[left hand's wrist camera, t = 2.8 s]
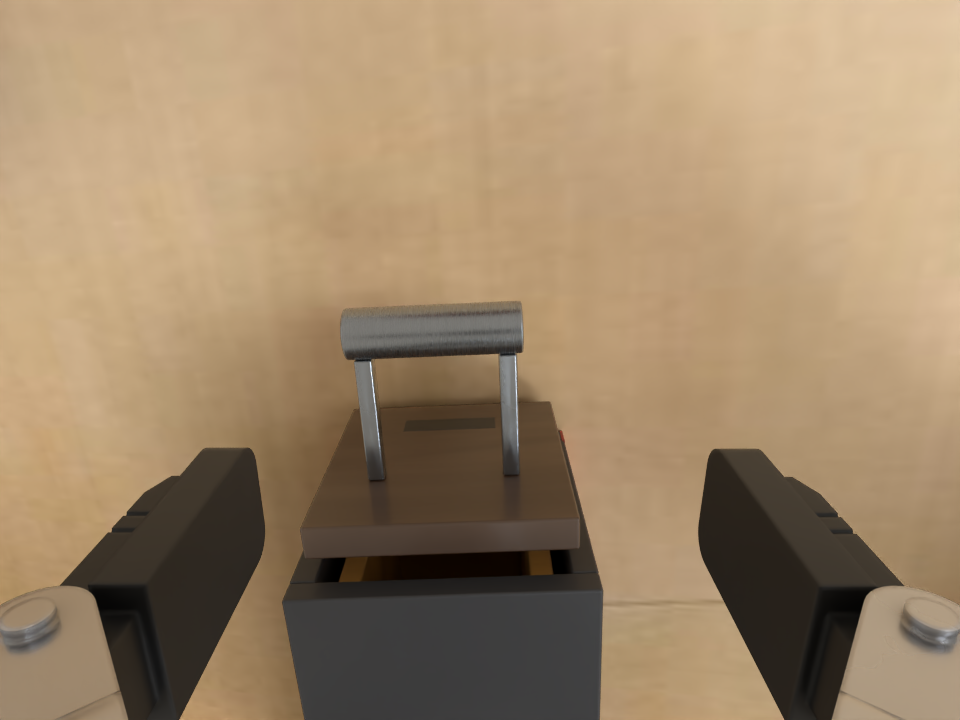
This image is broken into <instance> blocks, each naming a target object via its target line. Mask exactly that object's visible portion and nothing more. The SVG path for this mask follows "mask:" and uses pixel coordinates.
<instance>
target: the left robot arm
mask: <svg viewBox="0 0 960 720" xmlns="http://www.w3.org/2000/svg"><path fill="white" fill-rule="evenodd" d="M698 537H699V546H700V551H701V555H702V558H703V561H704V563H705V565H706V567H707V569H708V571H709V573H710V575H711V577H712V579H713V581H714V583H715V585H716V587H717V589H718V590H719V592H720V594H721V596H722V598H723V600H724V602H725V604H726V606H727V608H728V610H729V612H730V614H731V616H732V618H733V620H734V622H735V624H736V626H737V628H738V630H739V632H740V634H741V635H742V637H743V639H744V641H745V643H746V645H747V647H748V649H749V651H750V653H751V655H752V657H753V659H754V661H755V663H756V665H757V667H758V669H759V671H760V673H761V675H762V677H763V679H764V680H765V682H766V684H767V686H768V688H769V690H770V692H771V694H772V696H773V698H774V700H775V702H776V704H777V706H778V708H779V710H780V712H781V714H782V716H783V718H784V720H960V605H958V604H957V603H955V602H953V601H951V600H949V599H947V598H944V597H942V596H939V595H937V594H934V593H931V592H928V591H925V590H921V589H917V588H912V587H905V586H904V585H903V584H902V583H901V582H900V581H899V580H898V579H897V578H896V576H895V575H894V574H893V573H892V572H891V571H890V570H889V569H888V568H887V567H886V566H885V564H884V563H883V562H882V561H881V560H880V559H879V558H878V557H877V556H876V555H875V554H874V552H873V551H872V550H871V549H870V548H869V547H868V546H867V545H866V544H865V543H864V542H863V540H862V539H861V538H860V537H859V536H858V535H857V534H853V530H852V528H851V527H850V526H849V525H848V524H847V523H846V522H845V521H844V520H843V519H842V518H841V517H838V513H837V512H836V511H835V510H834V509H833V508H832V507H831V506H830V505H829V503H828V502H827V501H826V500H825V499H824V498H823V497H822V496H821V495H820V494H819V493H818V492H816V491H814V490H813V489H811V488H809V487H808V486H806V485H804V484H803V483H801V482H799V481H798V480H796V479H794V478H793V477H784V476H783V475H782V474H781V473H780V472H779V471H778V469H777V468H776V467H775V466H774V465H773V464H772V462H771V461H770V460H769V459H768V458H767V457H766V455H765V454H764V453H763V452H762V451H761V450H759V449H714V450H713V451H712V452H711V453H710V455H709V458H708V463H707V470H706V477H705V484H704V491H703V498H702V505H701V512H700V519H699V527H698ZM264 539H265V523H264V515H263V508H262V501H261V494H260V487H259V480H258V473H257V466H256V460H255V456H254V453H253V451H252V450H251V449H250V448H205V449H203V450H202V451H201V452H200V453H199V454H198V455H197V457H196V458H195V459H194V460H193V461H192V462H191V464H190V465H189V466H188V467H187V468H186V470H185V471H184V472H183V473H182V474H181V475H180V476H171V477H169V478H168V479H166V480H164V481H163V482H161V483H159V484H158V485H156V486H154V487H153V488H151V489H150V490H148V491H146V492H145V493H144V494H143V495H142V496H141V497H140V498H139V499H138V500H137V501H136V502H135V504H134V505H133V506H132V507H131V508H130V509H129V510H128V511H127V515H126V516H123V517H122V518H121V519H120V520H119V521H118V522H117V523H116V524H115V526H114V527H113V528H112V532H111V533H107V534H106V535H105V537H104V538H103V539H102V540H101V541H100V542H99V543H98V544H97V545H96V546H95V548H94V549H93V550H92V551H91V552H90V553H89V554H88V555H87V556H86V557H85V559H84V560H83V561H82V562H81V563H80V564H79V565H78V566H77V567H76V568H75V570H74V571H73V572H72V573H71V574H70V575H69V576H68V577H67V578H66V579H65V581H64V582H63V583H62V584H61V585H60V586H55V587H48V588H43V589H39V590H35V591H32V592H29V593H26V594H23V595H21V596H18V597H16V598H13V599H11V600H9V601H7V602H5V603H3V604H2V605H0V720H179V719H180V717H181V715H182V713H183V711H184V709H185V707H186V705H187V703H188V701H189V699H190V697H191V695H192V693H193V691H194V689H195V687H196V685H197V683H198V681H199V679H200V677H201V675H202V673H203V671H204V670H205V668H206V666H207V664H208V662H209V660H210V658H211V656H212V654H213V652H214V650H215V648H216V646H217V644H218V642H219V640H220V638H221V636H222V634H223V632H224V630H225V628H226V626H227V624H228V622H229V620H230V618H231V616H232V614H233V612H234V610H235V608H236V606H237V604H238V602H239V600H240V598H241V596H242V594H243V592H244V590H245V588H246V586H247V584H248V582H249V580H250V578H251V576H252V574H253V572H254V570H255V568H256V566H257V564H258V563H259V560H260V558H261V555H262V551H263V546H264Z"/></svg>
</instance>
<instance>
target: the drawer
mask: <svg viewBox="0 0 960 720" xmlns="http://www.w3.org/2000/svg"><path fill="white" fill-rule="evenodd" d="M340 336H341V345H342V350H343V353H344V356H345V358H346V359H347V360H355V361H354V367H355V375H356V383H357V391H358V399H359V408H360V409H355V410H354V411H353V413H352V415H351V417H350V420H349V422H348V424H347V426H346V429H345V431H344V433H343V435H342V437H341V440H340V442H339V444H338V446H337V448H336V451H335V453H334V455H333V457H332V459H331V462H330V464H329V466H328V468H327V471H326V473H325V475H324V477H323V479H322V482H321V484H320V486H319V488H318V490H317V493H316V495H315V497H314V499H313V501H312V504H311V506H310V508H309V510H308V513H307V515H306V517H305V519H304V521H303V524H302V526H301V528H300V532H301V538H302V544H303V550H304V556H305V558H306V559H322V558H346V560H345V563H344V566H343V570H342V573H341V576H340V579H339V582H355V581H384V580H412V579H440V578H468V577H496V576H525V575H553V568H552V561H551V555H550V550H571V549H579V547H580V517H579V513H578V509H577V505H576V501H575V497H574V493H573V489H572V485H571V481H570V477H569V473H568V469H567V465H566V461H565V457H564V453H563V449H562V445H561V441H560V437H559V433H558V429H557V425H556V421H555V417H554V413H553V409H552V405H551V402H549V401H548V402H523V403H518V377H517V353H522V352H523V345H524V337H523V314H522V304H521V302H520V301H508V302H485V303H461V304H438V305H415V306H392V307H369V308H346V309H344V310H343V312H342V316H341V323H340ZM481 354H499V381H500V403H498V404H473V405H449V406H424V407H399V408H380V405H379V396H378V387H377V378H376V369H375V360H374V359H386V358H410V357H434V356H457V355H481Z"/></svg>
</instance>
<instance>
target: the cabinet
mask: <svg viewBox="0 0 960 720" xmlns="http://www.w3.org/2000/svg"><path fill="white" fill-rule="evenodd" d="M558 433H559V437H560V441H561V445H562V449H563V453H564V457H565V461H566V465H567V469H568V473H569V477H570V481H571V485H572V489H573V493H574V497H575V501H576V505H577V509H578V513H579V517H580V547H579V549H571V550H550V555H551V561H552V568H553V575H525V576H496V577H468V578H440V579H412V580H384V581H355V582H339V579H340V576H341V573H342V570H343V566H344V563H345V560H346V558H322V559H306V558H305V556H304V550H303V553H302V555H301V558H300V560H299V562H298V565H297V567H296V569H295V572H294V574H293V577H292V579H291V581H290V585H289V587H288V589H287V591H286V594H285V596H284V598H283V601H282V604H283V609H284V614H285V619H286V625H287V630H288V635H289V640H290V646H291V651H292V656H293V661H294V667H295V672H296V677H297V683H298V688H299V693H300V698H301V704H302V709H303V714H304V719H305V720H600V690H601V653H602V616H603V588H602V584H601V581H600V577H599V574H598V569H597V565H596V561H595V557H594V554H593V550H592V546H591V542H590V538H589V534H588V531H587V527H586V523H585V519H584V515H583V512H582V508H581V504H580V500H579V496H578V493H577V489H576V485H575V481H574V477H573V473H572V470H571V466H570V462H569V458H568V454H567V451H566V447H565V440H564V437H563V433H562V431H558Z"/></svg>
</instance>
